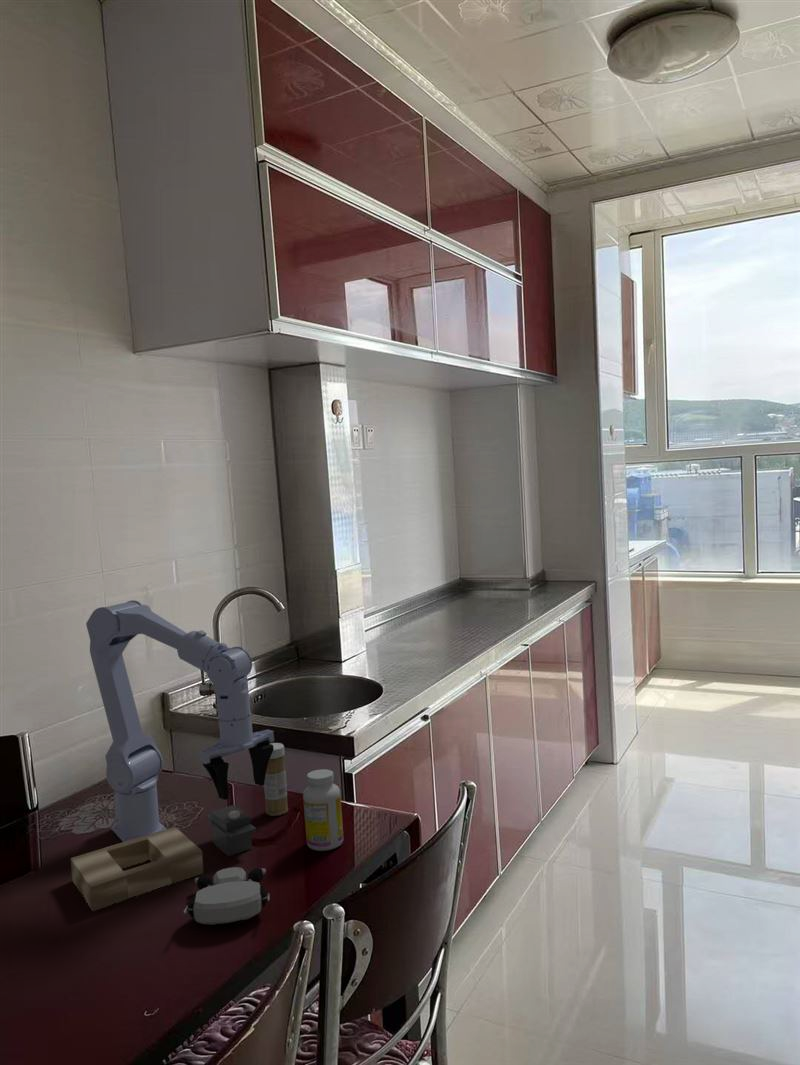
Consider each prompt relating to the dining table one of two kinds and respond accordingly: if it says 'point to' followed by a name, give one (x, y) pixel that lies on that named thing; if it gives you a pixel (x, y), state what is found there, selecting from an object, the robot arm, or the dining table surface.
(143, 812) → the robot arm
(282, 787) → the sprinkles bottle
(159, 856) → the tan slotted block
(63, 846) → the dining table surface
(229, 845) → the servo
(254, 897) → the robot toy
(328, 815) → the supplement bottle
